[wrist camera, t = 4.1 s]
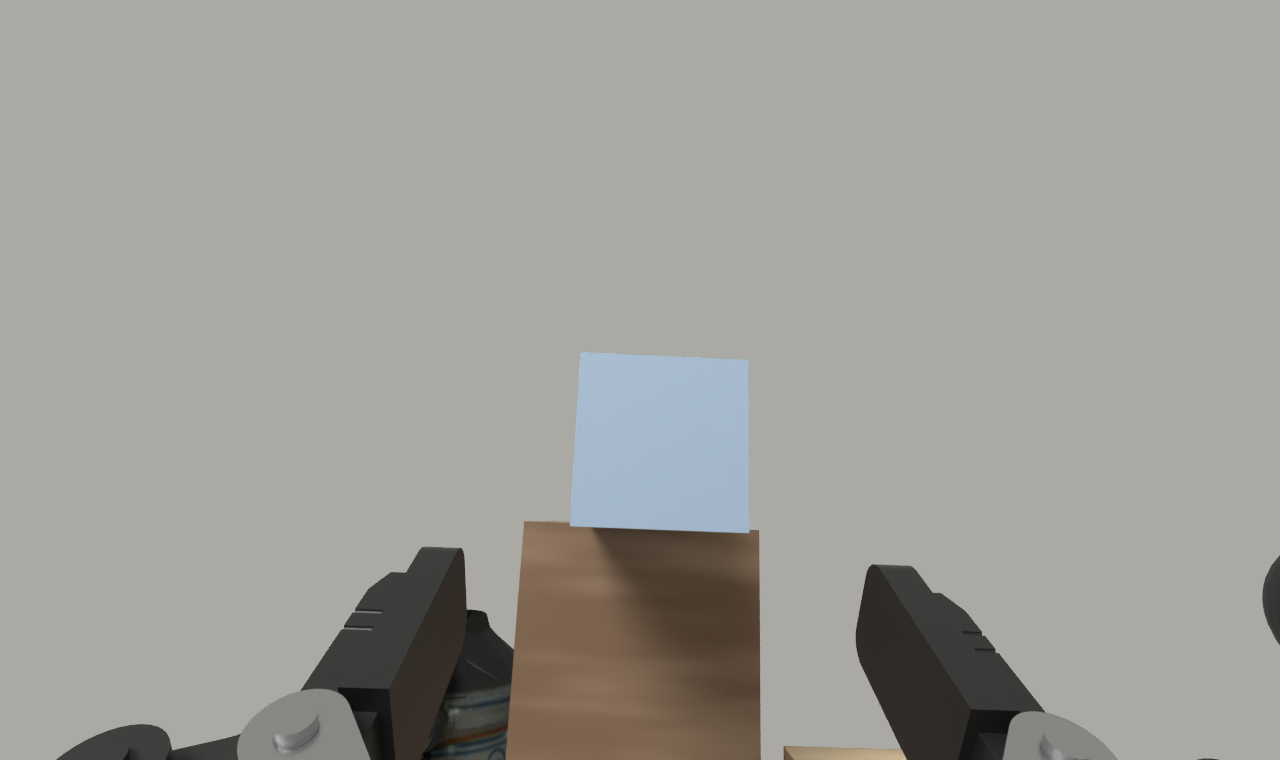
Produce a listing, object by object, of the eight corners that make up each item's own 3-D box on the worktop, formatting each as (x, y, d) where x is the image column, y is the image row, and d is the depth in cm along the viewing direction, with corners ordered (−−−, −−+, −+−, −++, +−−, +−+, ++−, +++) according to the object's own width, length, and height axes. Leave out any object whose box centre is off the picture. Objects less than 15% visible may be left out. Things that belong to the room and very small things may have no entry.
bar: (600, 522, 37) (603, 456, 38) (665, 525, 37) (667, 459, 38) (569, 525, 13) (580, 352, 14) (749, 533, 14) (748, 359, 14)
